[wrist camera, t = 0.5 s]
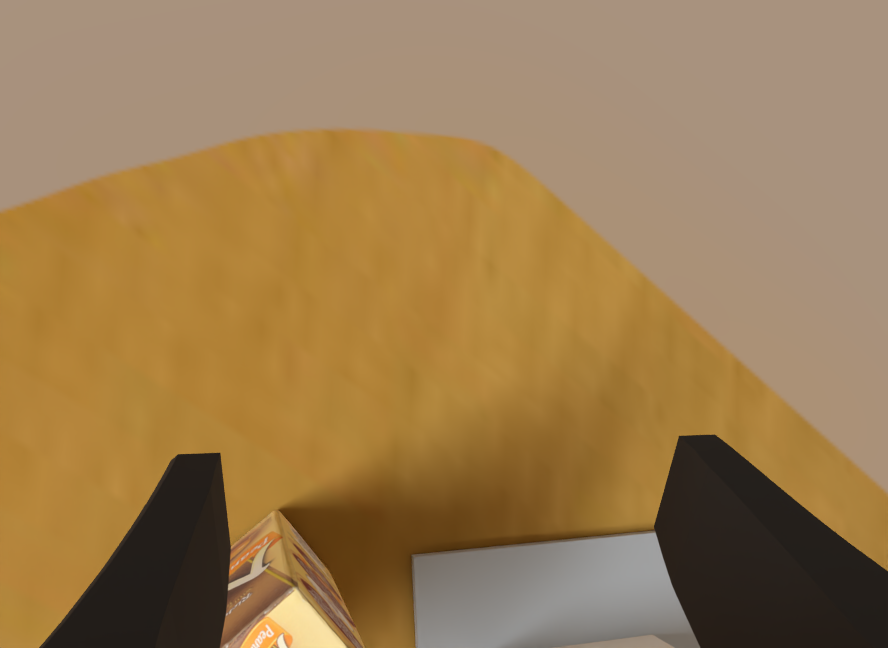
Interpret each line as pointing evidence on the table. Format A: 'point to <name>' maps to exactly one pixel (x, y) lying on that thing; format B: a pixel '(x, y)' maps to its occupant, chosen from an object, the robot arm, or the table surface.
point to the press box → (626, 643)
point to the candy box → (283, 594)
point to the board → (547, 594)
